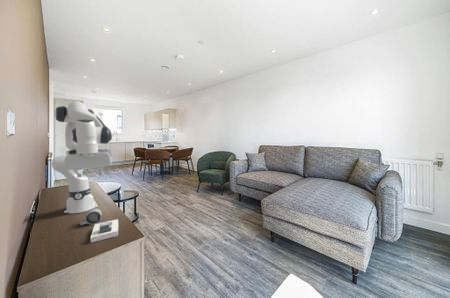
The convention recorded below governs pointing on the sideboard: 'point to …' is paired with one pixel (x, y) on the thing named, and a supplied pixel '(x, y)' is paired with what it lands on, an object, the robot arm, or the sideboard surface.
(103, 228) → the plug
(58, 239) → the sideboard surface
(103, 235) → the outlet plate
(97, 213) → the ceramic mug
